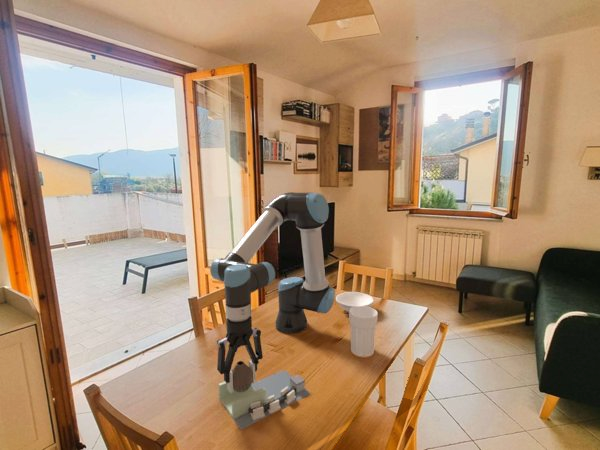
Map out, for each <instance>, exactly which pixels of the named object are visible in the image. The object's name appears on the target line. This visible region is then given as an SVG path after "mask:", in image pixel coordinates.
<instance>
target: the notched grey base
mask: <svg viewBox="0 0 600 450" xmlns="http://www.w3.org/2000/svg"><path fill="white" fill-rule="evenodd" d="M292 390H295V391H296V387H295V386H292V388H291V389H290V390H289V391H288V392H287V393H286V394H284V395H283V396H281V397H279V398H278V399H276V400H279V404H281V403H283V402H284V401H285V400H287V394H288V393H289V392H291V391H292ZM276 400H274V401H276ZM274 401H272V402H274ZM272 402H270V403H272ZM270 403H268V404H265V405H263V408H264V412H265V411H267V410H268V409H270ZM260 407H262V406H260ZM258 408H259V407H258ZM253 409H256V408H253ZM253 409H251V408H249V413H253Z"/></svg>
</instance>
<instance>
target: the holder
mask: <svg viewBox="0 0 600 450" xmlns="http://www.w3.org/2000/svg"><path fill="white" fill-rule="evenodd" d="M219 398H220V399H219ZM218 399H219V400H221V401H222V402H221V401H220V402H221V403H223V404H224V405H223V404H222V405H223V406H224V408H225V407H226V408H225V409H226V411H227V410H228V411H229V412H228V411H227V412H228V413H230V414H231V415H230V414H229V415H230V417H231V418H232V417H233V418H232V419H233V421H234V420H235V419H237V418H239V417H241V416H243V415H245V414H247V413H249V408H250V404H251V403H254V402H257V401H260V402H261V406H263V405H265V399H266V389H265V388H261V389H259V390H257V391H256V390H255V389H254V388H253V387H252V386H250V388H249V389H248V390H247V391H245V392H242V393H239V392H236V391H235V390H234V389H233V393H230V392H229V390H228V389H227V383H226V382H225V381H224V380H223V381H222V382H220V383H218Z"/></svg>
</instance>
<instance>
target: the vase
mask: <svg viewBox="0 0 600 450" xmlns="http://www.w3.org/2000/svg"><path fill="white" fill-rule="evenodd" d="M231 372H232V374H233V389H234V390H235V391H236V392H239V393H242V392H245V391H247V390H248V389H249V388H250V386H251V384H252V380H253V376H252V372H251V369H250V368H249V365H247V364H246V363H245V362H244V361H243V360H238V361H237V362H236V363H235V365H234V367H233V369H232V370H231Z"/></svg>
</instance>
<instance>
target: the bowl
mask: <svg viewBox="0 0 600 450" xmlns="http://www.w3.org/2000/svg"><path fill="white" fill-rule="evenodd" d="M335 301H336V304H337V305H338V306H339V307H341V308H343V310H345V312H347V313H349V310H350V309H351V308H353V307H356V306H366V307H370V308H371V307H372V305H373V303H374V297H373V296H371V295H369V294H367V293H364V292H359V291H346V292H341V293H339V294H337V295H335Z"/></svg>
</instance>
